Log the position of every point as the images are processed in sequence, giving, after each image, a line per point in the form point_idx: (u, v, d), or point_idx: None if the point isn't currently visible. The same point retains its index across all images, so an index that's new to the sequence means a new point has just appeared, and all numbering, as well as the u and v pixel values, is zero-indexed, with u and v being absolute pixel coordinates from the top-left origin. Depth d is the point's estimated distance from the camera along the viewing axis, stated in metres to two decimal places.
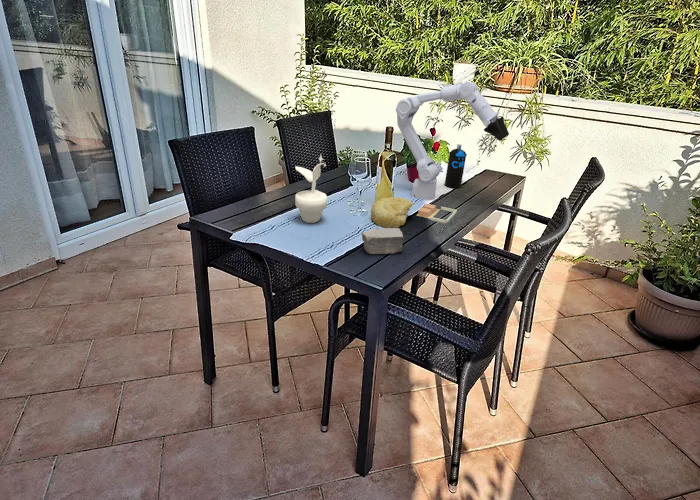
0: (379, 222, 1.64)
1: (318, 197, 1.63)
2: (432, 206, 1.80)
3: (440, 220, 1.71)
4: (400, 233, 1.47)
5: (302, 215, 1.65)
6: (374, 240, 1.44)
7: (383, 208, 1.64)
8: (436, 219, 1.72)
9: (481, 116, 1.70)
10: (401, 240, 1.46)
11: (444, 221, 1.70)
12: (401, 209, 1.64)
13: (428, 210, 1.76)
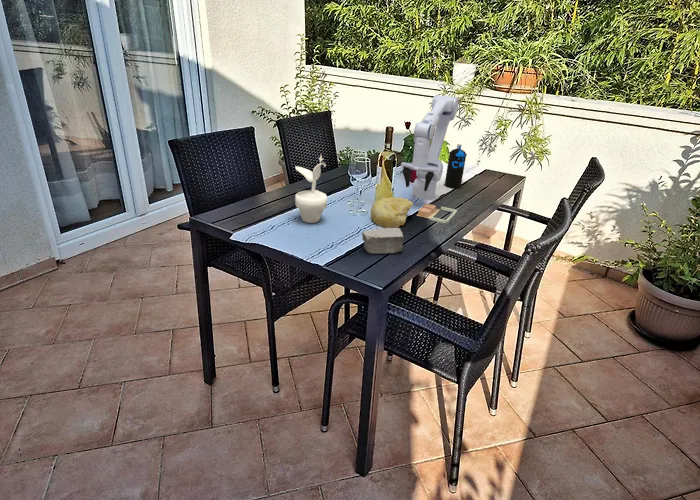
0: (379, 222, 1.64)
1: (318, 197, 1.63)
2: (432, 206, 1.80)
3: (440, 220, 1.71)
4: (400, 233, 1.47)
5: (302, 215, 1.65)
6: (374, 240, 1.44)
7: (383, 208, 1.64)
8: (436, 219, 1.72)
9: None
10: (401, 240, 1.46)
11: (444, 221, 1.70)
12: (401, 209, 1.64)
13: (428, 210, 1.76)
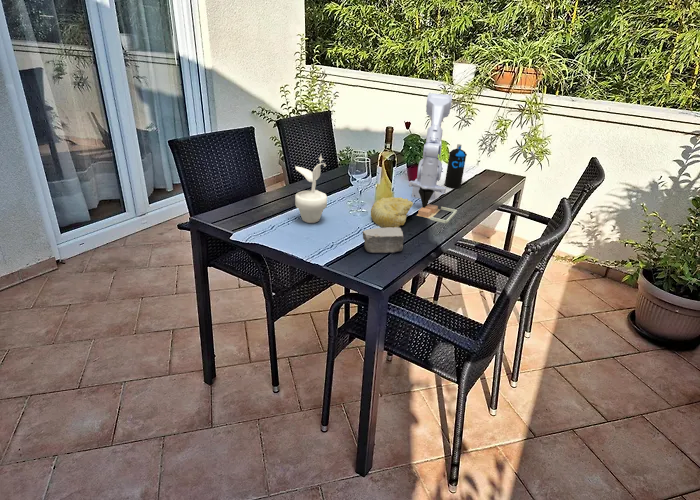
0: (379, 222, 1.64)
1: (318, 197, 1.63)
2: (434, 206, 1.80)
3: (440, 220, 1.71)
4: (400, 232, 1.47)
5: (302, 215, 1.65)
6: (374, 239, 1.45)
7: (383, 208, 1.64)
8: (436, 219, 1.72)
9: None
10: (401, 239, 1.46)
11: (444, 221, 1.70)
12: (401, 209, 1.64)
13: (428, 210, 1.76)
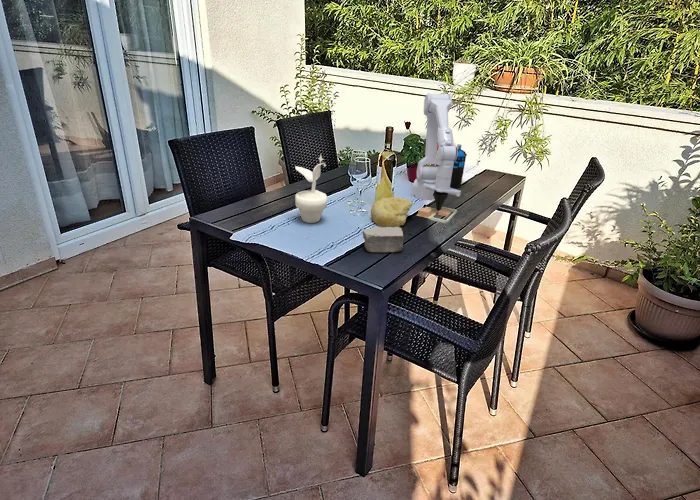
0: (379, 222, 1.64)
1: (318, 197, 1.63)
2: (448, 212, 1.78)
3: (440, 220, 1.71)
4: (400, 232, 1.48)
5: (302, 215, 1.65)
6: (374, 238, 1.45)
7: (383, 208, 1.64)
8: (436, 219, 1.72)
9: None
10: (401, 239, 1.47)
11: (444, 221, 1.70)
12: (401, 209, 1.64)
13: (428, 210, 1.76)
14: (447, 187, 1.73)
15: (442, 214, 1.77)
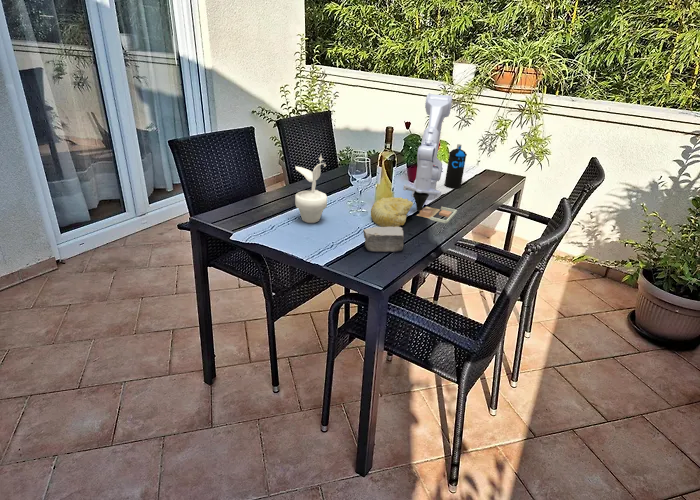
0: (379, 222, 1.64)
1: (318, 197, 1.63)
2: (448, 212, 1.78)
3: (440, 220, 1.71)
4: (401, 232, 1.48)
5: (302, 215, 1.65)
6: (374, 237, 1.46)
7: (383, 208, 1.64)
8: (436, 219, 1.72)
9: None
10: (401, 239, 1.47)
11: (444, 221, 1.70)
12: (401, 209, 1.64)
13: (429, 210, 1.76)
14: (427, 188, 1.71)
15: (443, 215, 1.77)
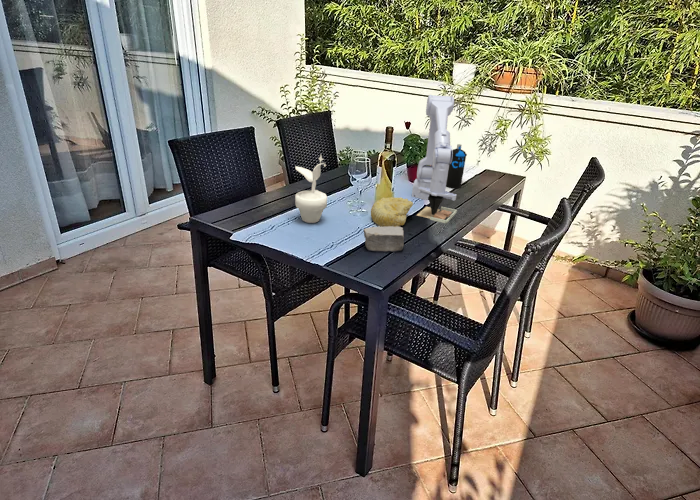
0: (379, 222, 1.64)
1: (318, 197, 1.63)
2: (448, 212, 1.78)
3: (440, 220, 1.71)
4: (401, 232, 1.48)
5: (302, 215, 1.65)
6: (374, 237, 1.46)
7: (383, 208, 1.64)
8: (436, 219, 1.72)
9: None
10: (401, 239, 1.47)
11: (444, 221, 1.70)
12: (401, 209, 1.64)
13: (444, 216, 1.74)
14: (442, 191, 1.68)
15: None
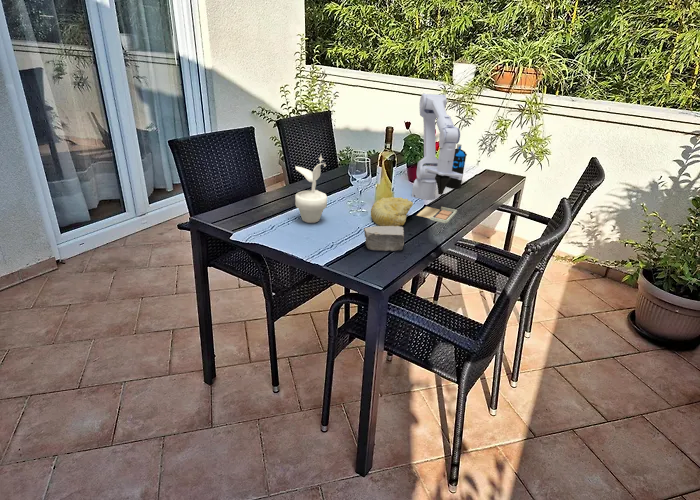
0: (379, 222, 1.64)
1: (318, 197, 1.63)
2: (448, 212, 1.78)
3: (440, 220, 1.71)
4: (401, 231, 1.48)
5: (302, 215, 1.65)
6: (374, 236, 1.47)
7: (383, 208, 1.64)
8: (436, 219, 1.72)
9: None
10: (401, 238, 1.47)
11: (444, 221, 1.70)
12: (401, 209, 1.64)
13: (445, 217, 1.74)
14: (449, 170, 1.72)
15: None
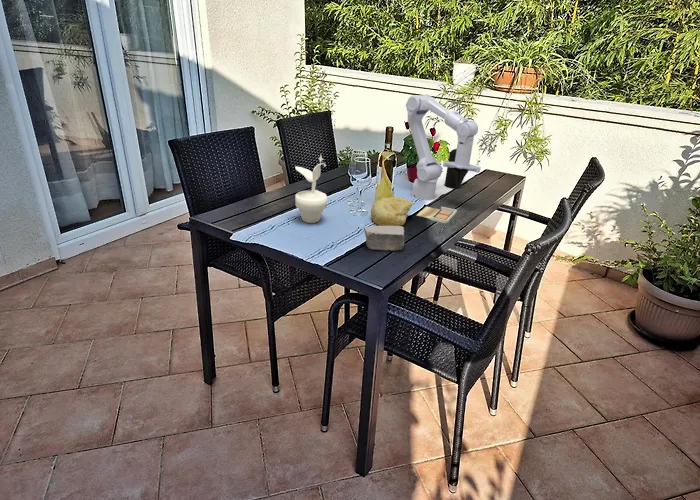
0: (379, 222, 1.64)
1: (318, 197, 1.63)
2: (448, 212, 1.78)
3: (440, 220, 1.71)
4: (402, 231, 1.48)
5: (302, 215, 1.65)
6: (374, 236, 1.47)
7: (383, 208, 1.64)
8: (436, 219, 1.72)
9: None
10: (401, 238, 1.47)
11: (444, 221, 1.70)
12: (401, 209, 1.64)
13: (445, 217, 1.74)
14: (467, 163, 1.76)
15: None
